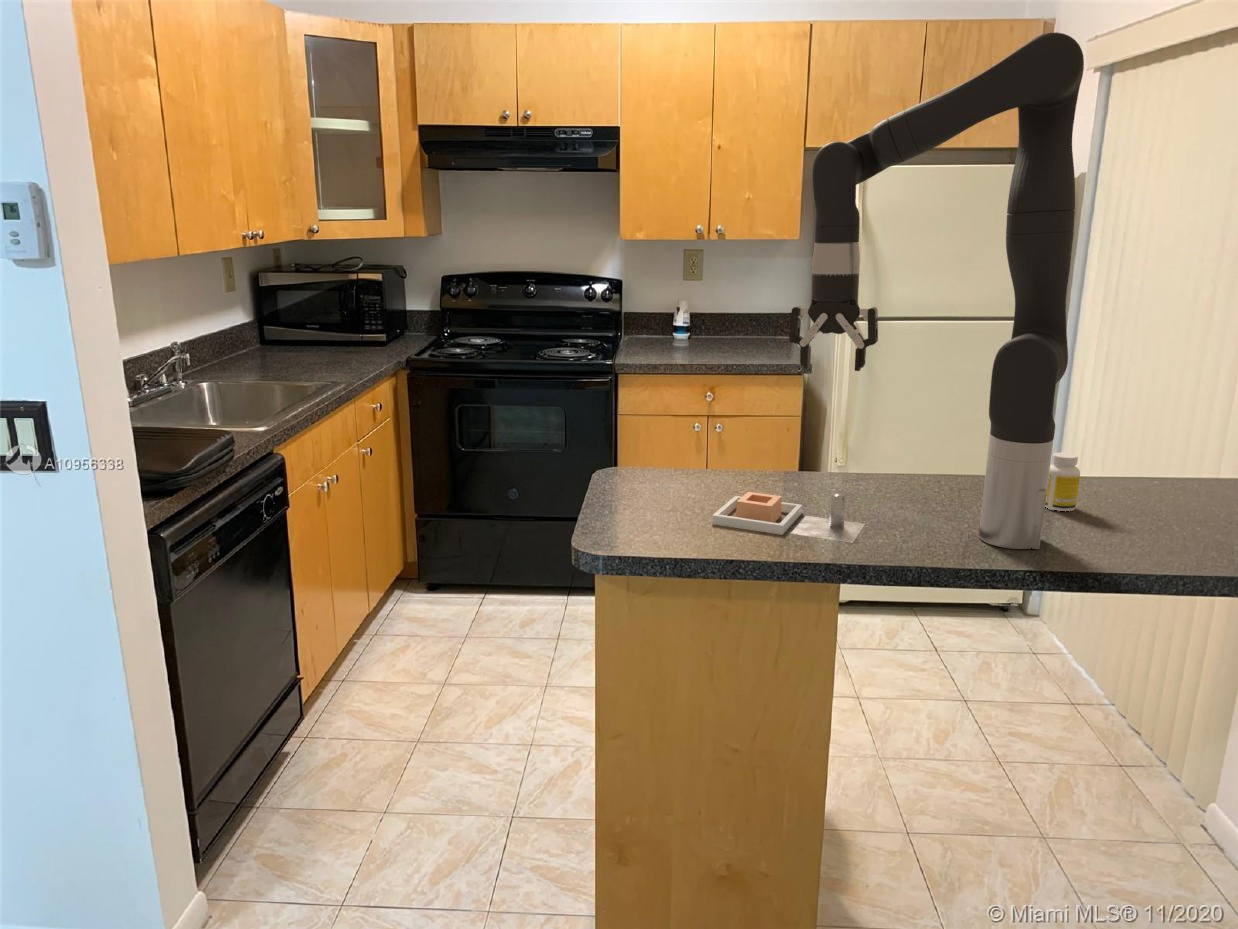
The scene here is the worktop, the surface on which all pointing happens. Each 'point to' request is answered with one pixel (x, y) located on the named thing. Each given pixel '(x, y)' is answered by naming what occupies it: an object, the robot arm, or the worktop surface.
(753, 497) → the ring
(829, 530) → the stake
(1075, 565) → the worktop surface
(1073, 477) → the supplement bottle
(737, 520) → the tray
